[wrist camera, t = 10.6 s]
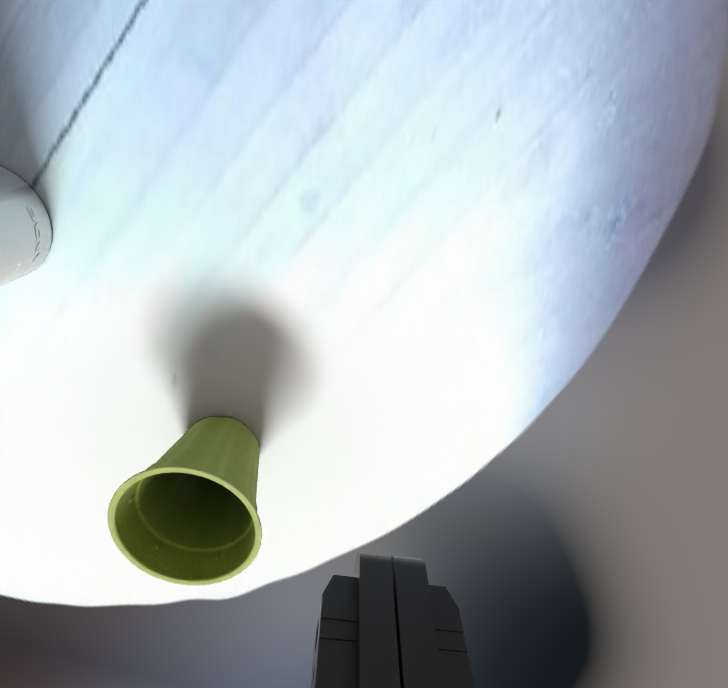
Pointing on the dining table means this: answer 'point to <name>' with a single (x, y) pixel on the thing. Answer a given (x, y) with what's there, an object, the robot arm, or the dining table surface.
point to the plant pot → (193, 507)
